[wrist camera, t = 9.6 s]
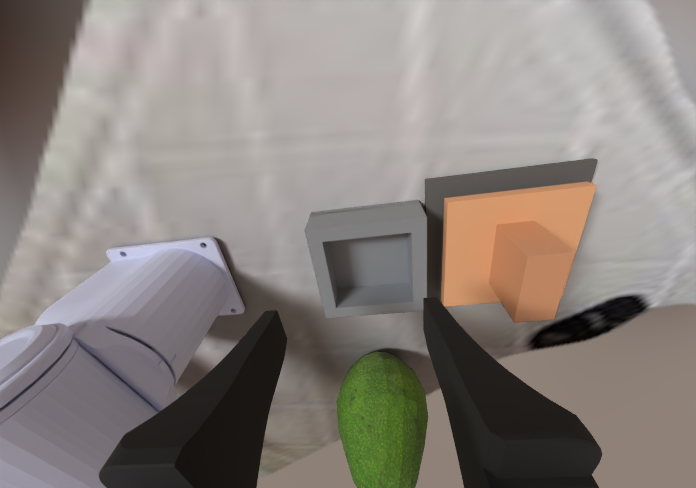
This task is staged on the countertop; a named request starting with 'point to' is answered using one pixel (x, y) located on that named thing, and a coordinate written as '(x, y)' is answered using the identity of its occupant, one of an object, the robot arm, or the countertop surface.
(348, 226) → the box
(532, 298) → the lid
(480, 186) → the mat
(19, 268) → the countertop surface
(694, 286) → the countertop surface
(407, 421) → the avocado
